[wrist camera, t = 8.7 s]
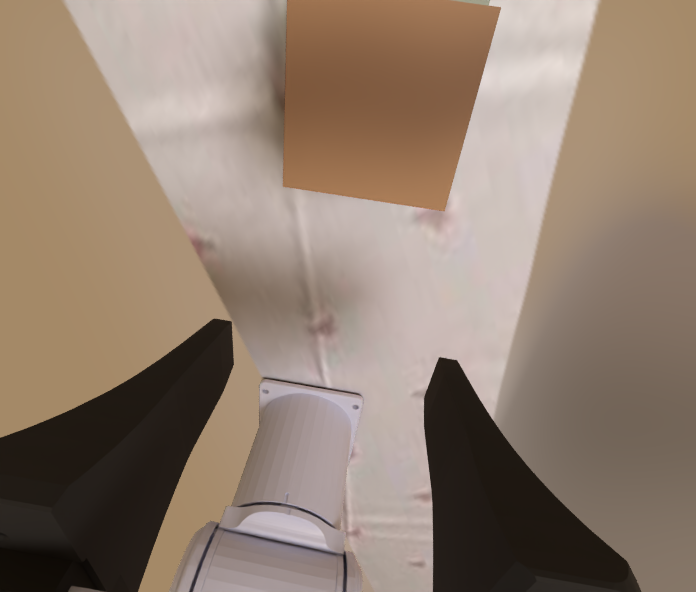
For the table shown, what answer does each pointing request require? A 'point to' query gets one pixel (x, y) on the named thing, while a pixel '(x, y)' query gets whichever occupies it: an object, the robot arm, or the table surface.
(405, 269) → the table surface
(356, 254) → the table surface
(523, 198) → the table surface
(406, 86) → the walnut block
